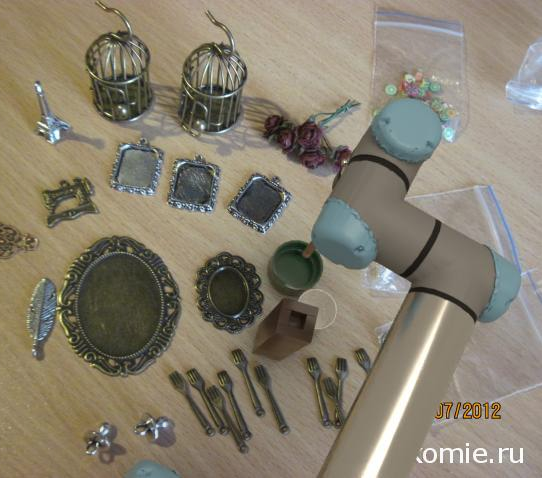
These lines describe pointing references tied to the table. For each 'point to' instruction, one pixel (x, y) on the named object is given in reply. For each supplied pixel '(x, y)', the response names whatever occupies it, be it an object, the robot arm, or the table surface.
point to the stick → (308, 250)
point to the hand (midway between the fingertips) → (320, 236)
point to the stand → (285, 329)
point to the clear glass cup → (320, 307)
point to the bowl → (294, 268)
